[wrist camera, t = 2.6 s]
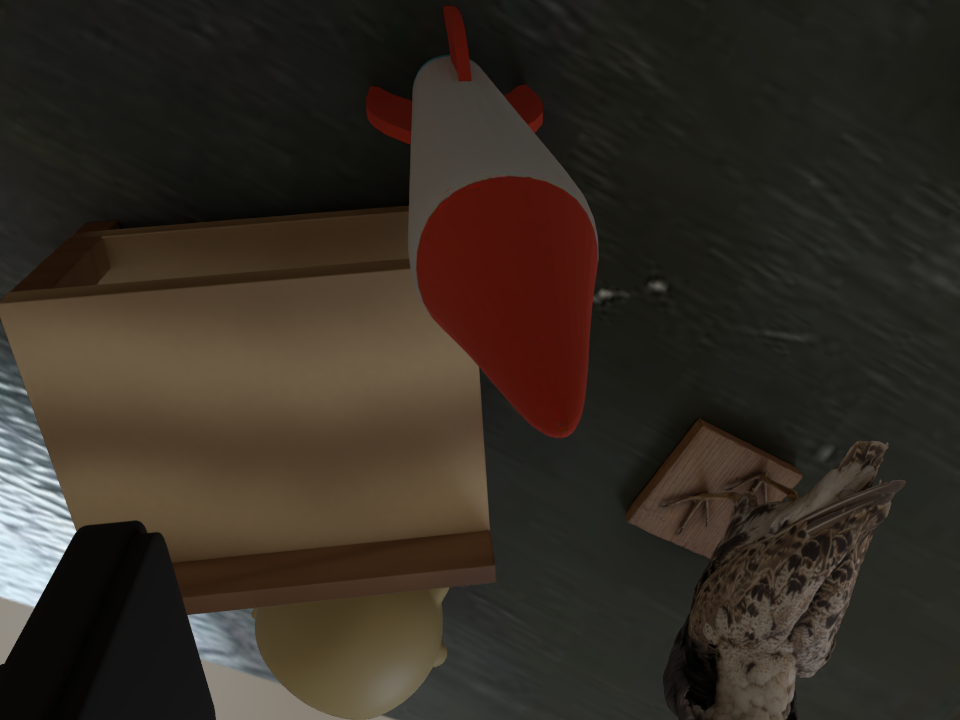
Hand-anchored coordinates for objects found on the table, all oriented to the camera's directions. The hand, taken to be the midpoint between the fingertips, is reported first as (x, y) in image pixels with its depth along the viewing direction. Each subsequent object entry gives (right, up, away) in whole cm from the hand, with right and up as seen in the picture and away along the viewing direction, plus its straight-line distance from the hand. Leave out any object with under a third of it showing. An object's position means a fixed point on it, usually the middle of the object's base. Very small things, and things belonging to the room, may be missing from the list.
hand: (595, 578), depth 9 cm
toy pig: (-9, -9, +41) cm, 43 cm away
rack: (-11, +4, +34) cm, 36 cm away
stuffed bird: (+13, -6, +42) cm, 44 cm away
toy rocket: (-3, +15, +29) cm, 33 cm away
